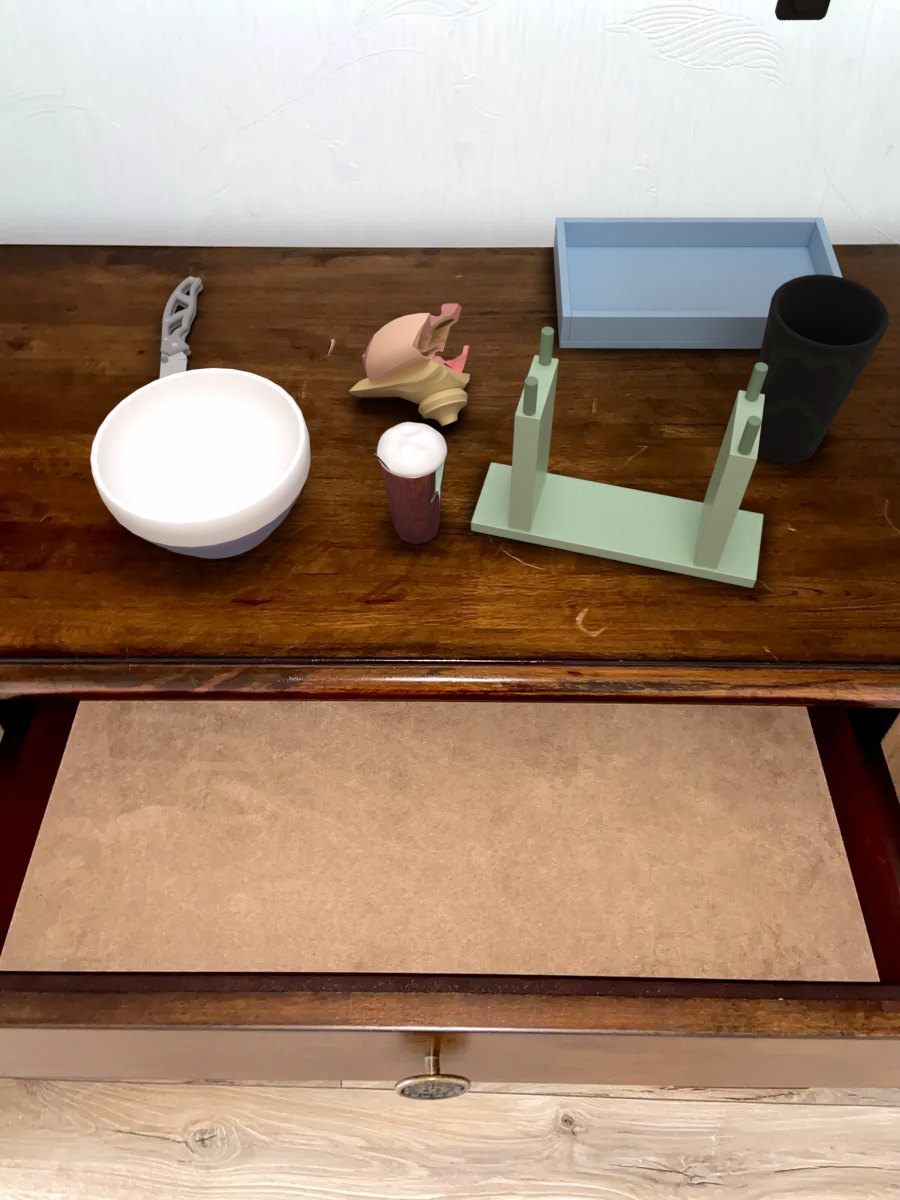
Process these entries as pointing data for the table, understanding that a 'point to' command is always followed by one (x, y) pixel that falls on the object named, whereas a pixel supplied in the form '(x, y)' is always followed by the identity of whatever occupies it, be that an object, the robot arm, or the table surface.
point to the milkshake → (413, 478)
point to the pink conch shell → (417, 365)
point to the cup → (813, 359)
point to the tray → (679, 278)
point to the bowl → (203, 461)
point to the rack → (626, 495)
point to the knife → (178, 327)
